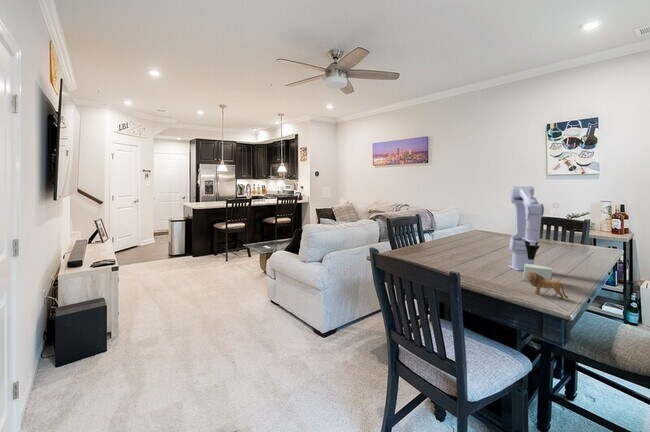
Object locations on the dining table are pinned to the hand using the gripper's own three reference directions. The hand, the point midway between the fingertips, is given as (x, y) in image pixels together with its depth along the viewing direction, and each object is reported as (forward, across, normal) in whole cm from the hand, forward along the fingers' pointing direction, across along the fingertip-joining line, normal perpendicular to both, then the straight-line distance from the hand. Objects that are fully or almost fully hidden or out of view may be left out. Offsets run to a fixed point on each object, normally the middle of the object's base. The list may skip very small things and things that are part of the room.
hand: (530, 257), depth 148 cm
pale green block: (+10, +1, +3) cm, 11 cm away
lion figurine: (+10, +22, +4) cm, 24 cm away
